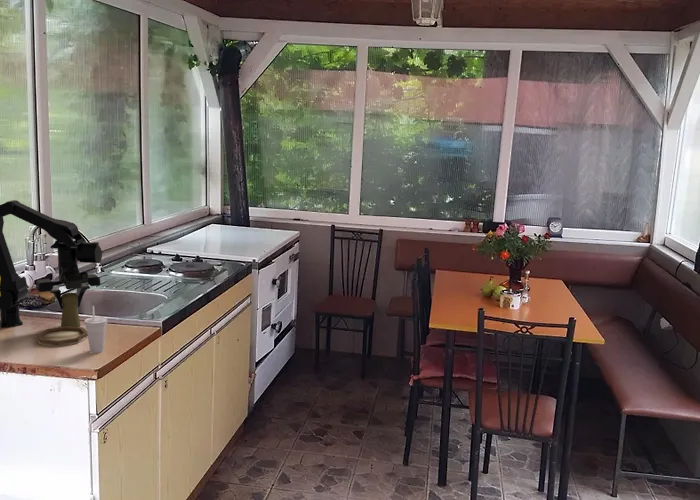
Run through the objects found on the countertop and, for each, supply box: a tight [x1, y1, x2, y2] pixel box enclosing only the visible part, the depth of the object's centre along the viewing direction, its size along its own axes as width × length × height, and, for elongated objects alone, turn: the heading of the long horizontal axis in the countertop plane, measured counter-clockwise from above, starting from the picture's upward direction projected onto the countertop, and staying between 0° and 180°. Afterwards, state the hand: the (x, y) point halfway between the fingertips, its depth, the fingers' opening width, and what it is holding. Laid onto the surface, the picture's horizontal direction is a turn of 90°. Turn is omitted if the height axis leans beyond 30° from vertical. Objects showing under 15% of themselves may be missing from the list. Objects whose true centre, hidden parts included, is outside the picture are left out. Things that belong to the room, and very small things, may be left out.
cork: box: [60, 292, 81, 327], centre depth 212 cm, size 6×6×11 cm
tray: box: [36, 326, 88, 347], centre depth 201 cm, size 14×14×2 cm
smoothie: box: [83, 305, 108, 354], centre depth 191 cm, size 6×6×14 cm
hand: (69, 307), depth 211 cm, fingers closed on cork, 5 cm apart
